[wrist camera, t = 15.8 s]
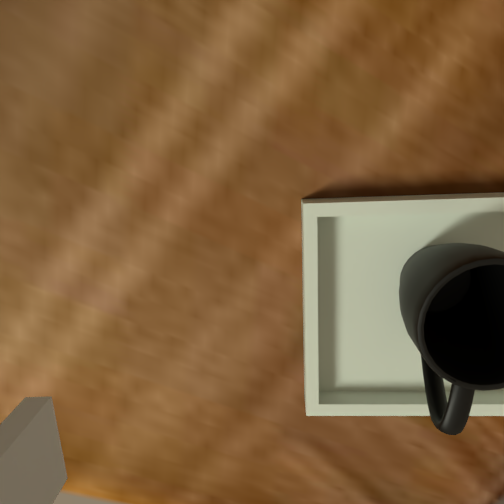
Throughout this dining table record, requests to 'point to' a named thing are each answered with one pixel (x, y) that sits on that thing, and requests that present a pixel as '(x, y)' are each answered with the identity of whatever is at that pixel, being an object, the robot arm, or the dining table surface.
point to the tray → (378, 297)
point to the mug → (455, 325)
